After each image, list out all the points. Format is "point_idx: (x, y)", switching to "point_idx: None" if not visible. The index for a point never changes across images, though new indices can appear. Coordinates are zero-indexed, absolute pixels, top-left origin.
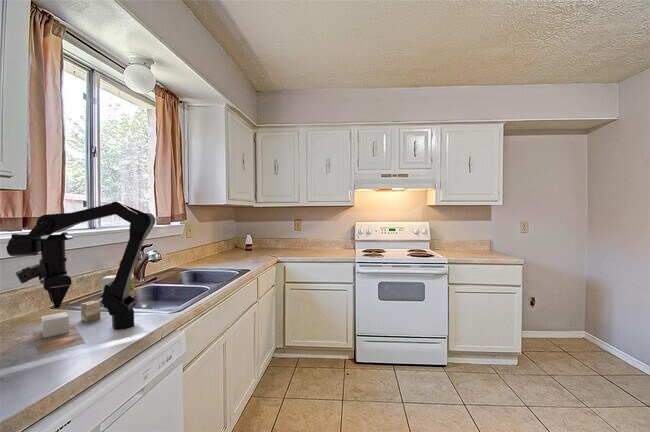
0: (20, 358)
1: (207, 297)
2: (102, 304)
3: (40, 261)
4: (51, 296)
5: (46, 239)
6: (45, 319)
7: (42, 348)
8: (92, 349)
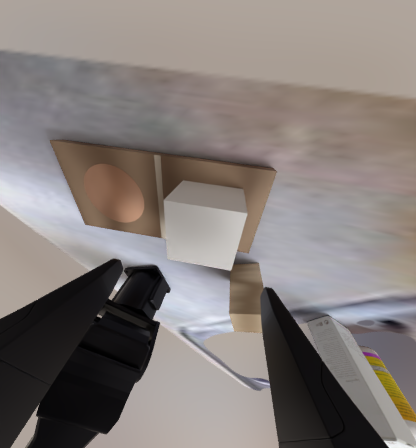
0: (86, 103)
1: (214, 363)
2: (334, 326)
3: None
4: (12, 316)
5: None
6: (182, 211)
7: (91, 157)
8: (74, 222)
